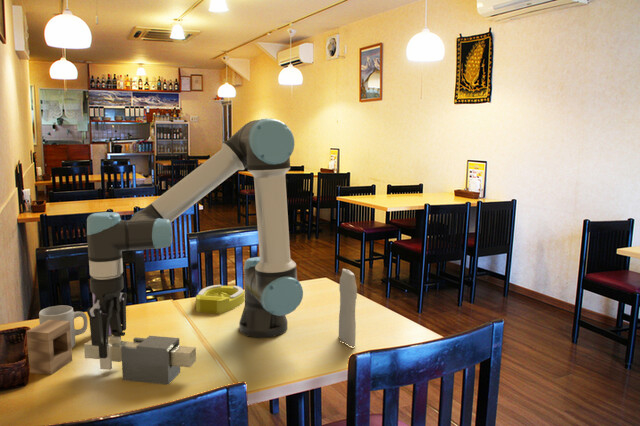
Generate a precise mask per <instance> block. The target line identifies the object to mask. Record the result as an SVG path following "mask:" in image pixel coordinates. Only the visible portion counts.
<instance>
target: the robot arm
mask: <svg viewBox="0 0 640 426" xmlns="http://www.w3.org/2000/svg"><path fill="white" fill-rule="evenodd" d="M221 145H222V146H221V149H220V150H218V151H217V152H216V153H215V154H213V155H212V156H210V157H209V158H208V159H207V160H205V161H204V162H203V163H202V164H200V165H199V166H198V167H196V168H195V169H194V170H192V171H191V172H190V173H189V174H187V175H186V176H185V177H183V178H182V179H181V180H180V181H178V182H177V183H176V184H174V185H173V186H172V187H170V188H169V189H168V190H166V191H165V192H164V193H162V194H161V195H160V196H159V197H158V198H157V197H156V199H154V200H153V201H152V202H151V203H150V204H148V205H147V206H146V207H144V208H143V209H142V210H141V209H140V210H138V211H137V212H134V214H133V215H132V216H131V218H130V219H128V220H127V219H126V220H125V219H122V218H121V215H120V214H119V213H118V212H115V211H114V212H113V211H111V212H110V211H104V212H94V213H91V214H89V215H88V216H87V219H86V239H87V240H86V241H87V252H88V265H89V266H88V267H89V276H90V278H89V285H90V286H89V288H90V292H91V293H92V295H93V294H94V295H95V301H94V304H95V305H94V306H93V305H92V307H88V308H87V310H86V313H87V316H88V318H89V329H90V331H89V332H90V337H91V338H90V340H91V341H92V345H93V346H98V347H99V357H100V359H99V368H100V370H108V371H111V370H112V369H113V363H112V362H116V363H117V362H118V363H122V361H114V360H112V357H111V344H108V342H109V340H116V341H122V337H124V336H126V332H125V331H126V330H127V298H128V294H127V292H121V291H122V290H123V289H124V287H125V286H124V275H123V272H124V265H123V253H122V252H124V251H137V250H138V251H139V250H152V249H153V250H154V249H156V250H159V249H163V248H169V247H171V245H172V242H173V228H172V222H173V221H175V220H176V219H177V218H178V217H180V216H181V215H182V214H183V213H185V212H186V211H187V210H189V209H190V208H192V206H194V205H195V204H196V203H198V202H199V201H200V200H201V199H203V198H204V197H205V196H207V195H208V194H209V193H210V192H211V191H213V190H215V189H216V188H217V187H218V186H220V184H222V183H223V182H224V181H226V180H227V179H228V178H230V177H231V176H233V174H235V173H236V172H237V171H244V170H245V169H247V172H248V173H250V175H252V177H253V182H254V183H253V184H254V195H255V197H254V198H255V209H256V210H255V211H256V222H257V223H256V225H257V236H258V237H257V239H258V250H259V252H258V253H259V256H255V257H249V258H247V259H246V260H245V261H244V268H243V272H244V274H243V275H244V280H243V282H244V306H243V310H242V313H241V316H240V319H239V322H238V323H239V324H238V325H239V326H238V329H239V332H240V333H241V334H243V335H244V336H247V337H251V338H257V339H258V338H259V339H260V338H261V339H264V338H273V337H277V336H280V335H282V334H284V333H285V332H286V331H287V330H288V319H287V315H289V314H291V313H293V312H294V311H295V310H296V309H297V308H298V307H299V306H300V304H301V303H302V301H303V297H304V291H303V287H302V284H301V282H300V281H299V280H298V273H297V263H296V262H295V261H294V260H293V259H292V258H291V249H290V245H291V244H290V231H289V229H290V228H289V215H288V198H287V195H288V194H287V183H286V182H287V181H286V179H287V178H286V174H287V173H288V172H289V171H290V170H291V156H292V155H293V152H294V150H295V137H294V134H293V132H292V130H291V128H290V127H289V126H288V125H287V124H286V123H285V122H283V121H281V120H279V119H274V118H261V119H255V120H252V121H248V122H247V123H246V124H244V125H243V126H242V127H240V128H239V129H238V130H237V131H236V132H235V133H234V134H233V135H232V136H230V137H229V138H228V139H227V140H226V141H224V142H223V143H222V144H221ZM102 313H105V314H102ZM109 324H110V329H111V334H112V335H111V336H109ZM279 334H280V335H279ZM276 335H277V336H276Z"/></svg>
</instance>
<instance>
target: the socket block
mask: <svg viewBox="0 0 640 426" xmlns="http://www.w3.org/2000/svg"><path fill="white" fill-rule="evenodd" d="M25 333H26V342H27V343H26V344H27V354H28V355H27V356H28V357H27V358H28V366H29V365H30V370H29V373H30V374H39V375H48V376H49V375H50V376H51V375H53V374H55V373H56V372H58V371H59V370H60V369H62V368H64V367H65V366H67V365H68V364H70V363H71V362H73V348H72V347H71V332H70V321H60V320H48V321H46V322H44V323H42V324H40V323H39V324H38V325H36V326H34V327H32V328H30V329H28V330H26V332H25Z"/></svg>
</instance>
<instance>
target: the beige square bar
mask: <svg viewBox="0 0 640 426" xmlns="http://www.w3.org/2000/svg"><path fill="white" fill-rule="evenodd" d="M108 344H111V357H112V360H114V361H113V362H115V361H121V362H122V354H121V348H122V347H123V346H125V347H136V346H137V345H138V344H140V342H134V341H127V340H121V341H116V340H109V342H108ZM83 352H84V359H93V360H100V357H99V347H98V346H93V345H92V341H91V339H90V340H89V341H87V342H85V343H83ZM169 361H170V366H179V367H180V368H182V367H183V368H191V367H192V366H193V365H194V364H195V363H196V362H197V347H196V346H186V345H185V346H184V345H179V346H175V345H174V346H173V347H172V348H171V349H170V350H169Z"/></svg>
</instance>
